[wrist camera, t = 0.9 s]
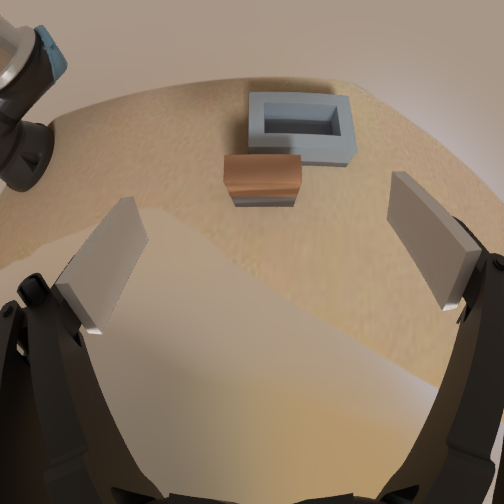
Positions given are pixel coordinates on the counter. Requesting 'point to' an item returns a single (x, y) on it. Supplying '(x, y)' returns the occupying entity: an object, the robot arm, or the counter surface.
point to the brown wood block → (263, 179)
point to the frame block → (302, 127)
